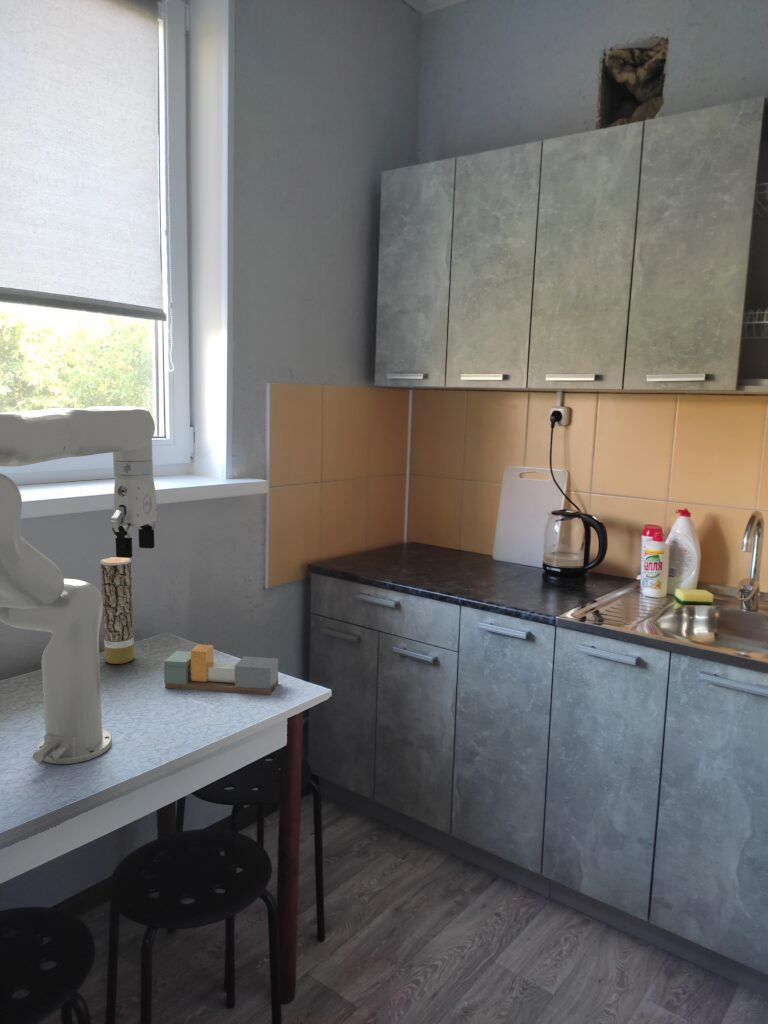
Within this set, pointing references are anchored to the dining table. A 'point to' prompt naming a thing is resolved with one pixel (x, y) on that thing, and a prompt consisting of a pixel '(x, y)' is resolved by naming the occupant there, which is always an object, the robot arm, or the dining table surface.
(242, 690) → the board
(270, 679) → the sleeve
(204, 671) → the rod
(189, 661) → the socket
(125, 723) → the dining table surface
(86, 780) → the dining table surface
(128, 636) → the brown bark cylinder
